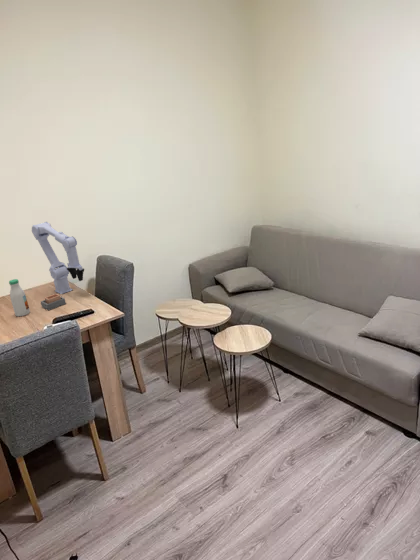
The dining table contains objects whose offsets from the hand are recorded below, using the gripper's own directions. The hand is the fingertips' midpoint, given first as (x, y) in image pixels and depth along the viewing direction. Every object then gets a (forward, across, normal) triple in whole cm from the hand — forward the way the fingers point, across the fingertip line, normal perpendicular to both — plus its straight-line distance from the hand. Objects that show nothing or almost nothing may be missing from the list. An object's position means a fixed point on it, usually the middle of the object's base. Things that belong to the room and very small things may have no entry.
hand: (77, 279), depth 240 cm
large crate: (+10, +1, -18) cm, 21 cm away
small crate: (+9, +1, -18) cm, 20 cm away
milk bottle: (+10, -4, -34) cm, 36 cm away
